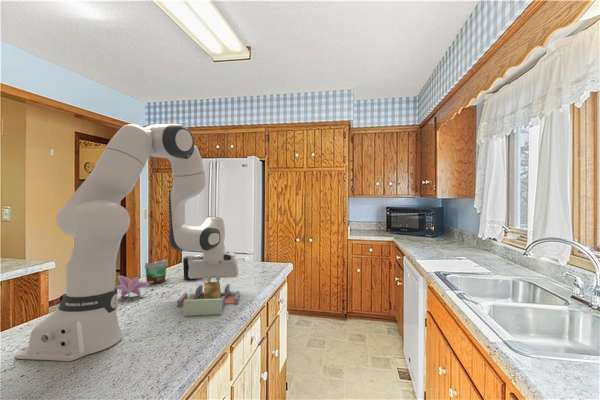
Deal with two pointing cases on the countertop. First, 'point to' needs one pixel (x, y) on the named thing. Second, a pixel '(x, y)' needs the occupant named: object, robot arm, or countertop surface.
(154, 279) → the food container
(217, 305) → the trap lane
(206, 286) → the honey block
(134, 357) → the countertop surface
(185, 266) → the pen holder
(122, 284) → the lily
